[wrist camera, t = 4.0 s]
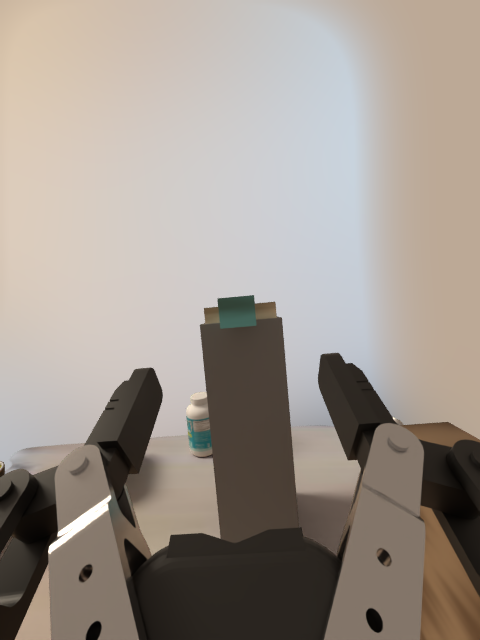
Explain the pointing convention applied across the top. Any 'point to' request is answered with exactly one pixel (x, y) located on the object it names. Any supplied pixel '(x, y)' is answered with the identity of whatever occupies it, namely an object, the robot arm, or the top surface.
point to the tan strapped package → (239, 312)
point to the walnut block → (445, 563)
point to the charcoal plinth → (250, 428)
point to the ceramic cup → (2, 468)
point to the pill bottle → (199, 425)
